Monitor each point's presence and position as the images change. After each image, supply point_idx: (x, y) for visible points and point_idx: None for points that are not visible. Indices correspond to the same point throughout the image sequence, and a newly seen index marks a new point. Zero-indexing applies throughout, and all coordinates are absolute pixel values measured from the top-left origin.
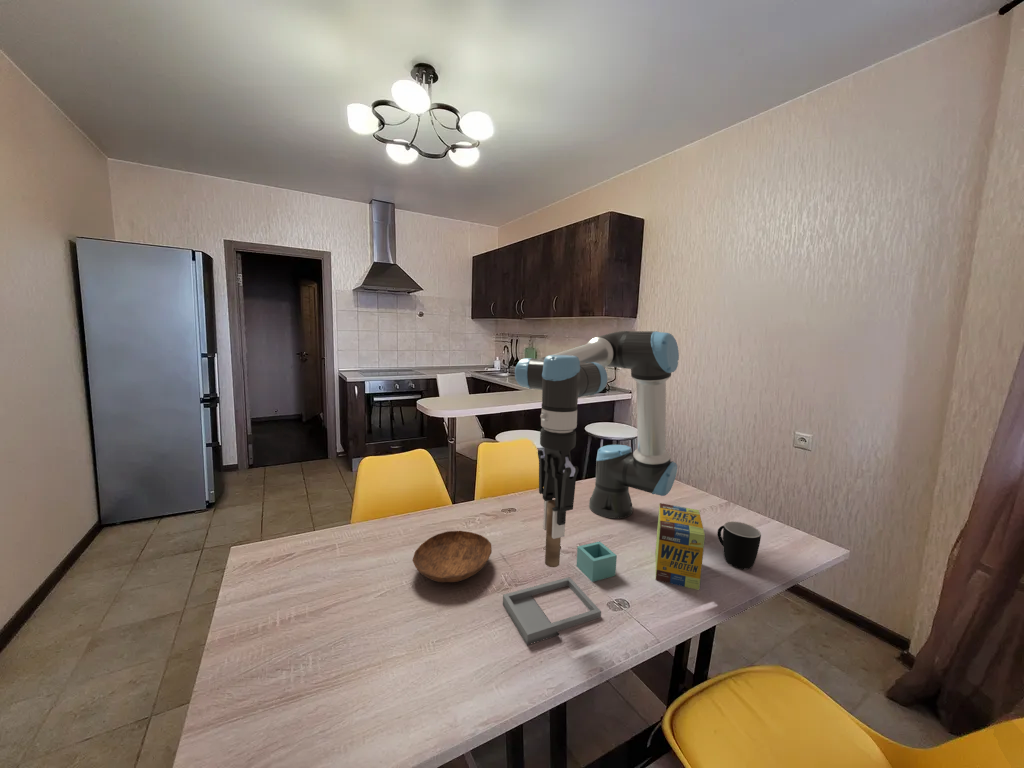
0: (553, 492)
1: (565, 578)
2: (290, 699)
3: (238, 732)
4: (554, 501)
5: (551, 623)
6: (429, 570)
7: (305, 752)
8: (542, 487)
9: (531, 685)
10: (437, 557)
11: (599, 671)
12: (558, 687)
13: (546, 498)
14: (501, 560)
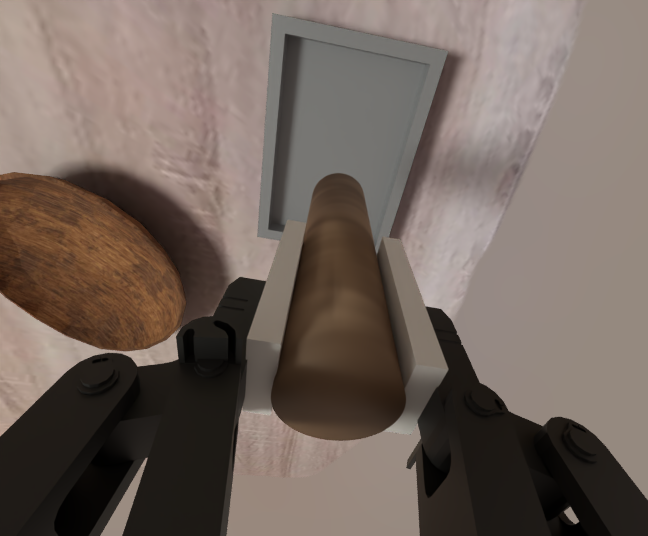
0: (233, 436)
1: (273, 35)
2: (291, 444)
3: (303, 465)
4: (306, 388)
5: (390, 202)
6: (116, 305)
7: (350, 443)
8: (113, 501)
9: (441, 282)
10: (66, 275)
11: (514, 175)
12: (474, 254)
13: (238, 420)
14: (94, 136)
